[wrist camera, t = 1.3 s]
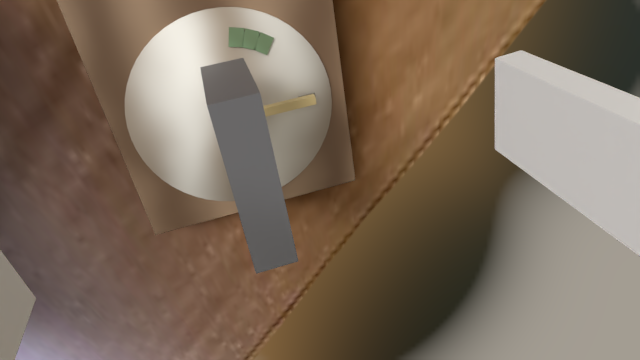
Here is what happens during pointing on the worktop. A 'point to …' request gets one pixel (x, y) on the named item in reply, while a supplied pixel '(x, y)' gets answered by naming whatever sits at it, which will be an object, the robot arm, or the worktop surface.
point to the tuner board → (189, 97)
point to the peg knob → (251, 159)
